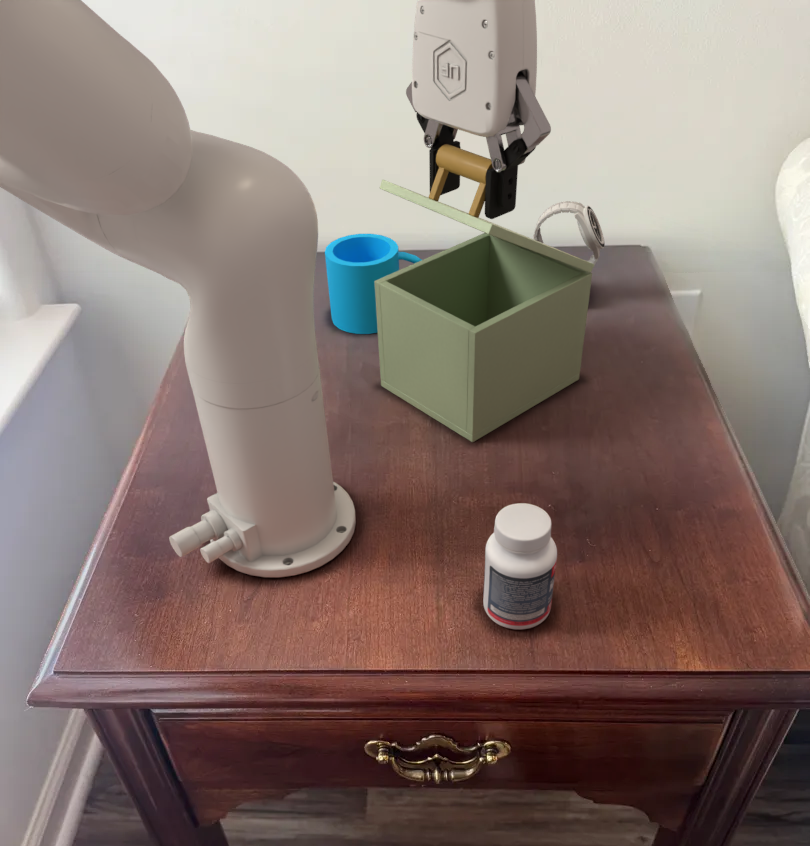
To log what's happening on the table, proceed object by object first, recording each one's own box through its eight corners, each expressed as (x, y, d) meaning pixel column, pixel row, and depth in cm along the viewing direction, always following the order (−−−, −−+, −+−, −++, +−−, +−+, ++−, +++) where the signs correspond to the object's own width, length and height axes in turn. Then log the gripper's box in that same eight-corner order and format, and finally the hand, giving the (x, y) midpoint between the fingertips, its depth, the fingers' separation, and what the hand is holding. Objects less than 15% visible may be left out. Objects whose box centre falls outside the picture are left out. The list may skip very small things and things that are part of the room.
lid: (488, 234, 68) (515, 165, 66) (379, 188, 76) (400, 125, 74) (591, 272, 80) (616, 215, 79) (488, 229, 88) (508, 176, 86)
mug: (332, 336, 97) (325, 268, 91) (330, 301, 103) (324, 236, 97) (437, 328, 97) (437, 260, 92) (429, 294, 103) (428, 228, 98)
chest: (472, 442, 82) (475, 333, 73) (380, 386, 89) (374, 280, 81) (579, 379, 89) (592, 273, 81) (485, 331, 96) (489, 230, 88)
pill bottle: (560, 625, 65) (571, 540, 59) (493, 637, 64) (498, 553, 58) (538, 576, 69) (547, 492, 62) (475, 587, 68) (478, 503, 62)
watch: (596, 311, 99) (608, 217, 91) (526, 306, 100) (533, 214, 93) (598, 288, 103) (610, 196, 95) (531, 283, 104) (537, 193, 97)
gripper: (364, -49, 66) (375, 188, 78) (531, -19, 56) (514, 246, 68) (435, -62, 69) (435, 166, 81) (604, -36, 60) (575, 218, 72)
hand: (471, 200), depth 75 cm, fingers closed on lid, 6 cm apart
